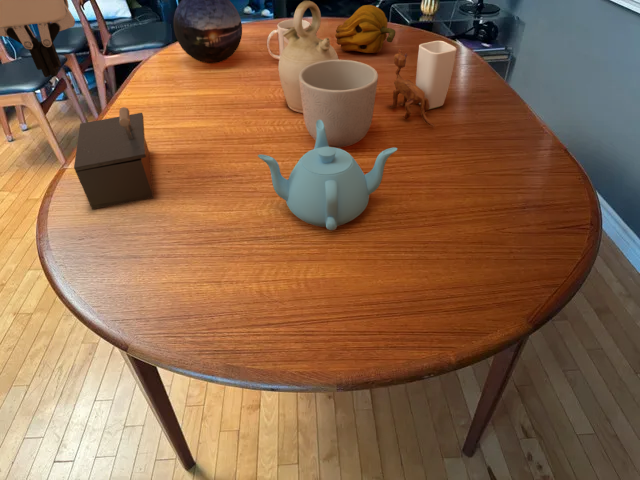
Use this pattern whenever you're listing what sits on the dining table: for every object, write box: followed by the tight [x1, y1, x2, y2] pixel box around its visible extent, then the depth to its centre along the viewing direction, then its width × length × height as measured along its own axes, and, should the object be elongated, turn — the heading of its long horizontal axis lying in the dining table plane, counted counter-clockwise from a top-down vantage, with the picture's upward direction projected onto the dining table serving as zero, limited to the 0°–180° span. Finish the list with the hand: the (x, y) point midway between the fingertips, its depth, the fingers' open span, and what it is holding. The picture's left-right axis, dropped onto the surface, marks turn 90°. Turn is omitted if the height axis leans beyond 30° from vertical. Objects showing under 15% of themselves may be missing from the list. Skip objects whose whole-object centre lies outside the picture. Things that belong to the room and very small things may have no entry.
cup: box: [415, 40, 457, 110], centre depth 116 cm, size 7×7×15 cm
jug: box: [277, 0, 340, 114], centre depth 115 cm, size 15×16×25 cm
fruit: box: [334, 4, 396, 54], centre depth 146 cm, size 14×16×20 cm
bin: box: [75, 139, 154, 210], centre depth 95 cm, size 12×18×9 cm, turn 18°
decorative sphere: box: [173, 0, 243, 64], centre depth 140 cm, size 20×20×20 cm
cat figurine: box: [389, 48, 436, 128], centre depth 112 cm, size 18×7×14 cm, turn 27°
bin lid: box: [73, 106, 146, 172], centre depth 90 cm, size 13×18×5 cm
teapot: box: [257, 120, 398, 231], centre depth 86 cm, size 17×19×12 cm
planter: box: [299, 59, 379, 148], centre depth 105 cm, size 17×17×15 cm
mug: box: [266, 18, 311, 60], centre depth 141 cm, size 10×12×11 cm
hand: (52, 72), depth 67 cm, fingers closed
